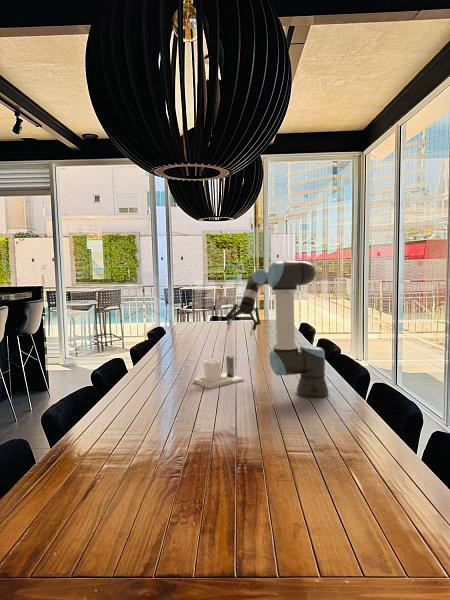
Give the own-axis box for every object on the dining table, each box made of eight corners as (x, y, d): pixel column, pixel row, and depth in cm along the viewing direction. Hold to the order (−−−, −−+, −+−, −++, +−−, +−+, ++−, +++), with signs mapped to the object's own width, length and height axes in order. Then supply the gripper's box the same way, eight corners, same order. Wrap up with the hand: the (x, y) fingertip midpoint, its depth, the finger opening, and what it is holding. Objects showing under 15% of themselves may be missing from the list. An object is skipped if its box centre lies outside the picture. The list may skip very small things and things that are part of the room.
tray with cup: (243, 380, 235) (243, 358, 234) (210, 388, 221) (209, 365, 220) (225, 374, 248) (225, 353, 247) (193, 382, 234) (192, 360, 233)
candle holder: (200, 384, 230) (199, 362, 229) (209, 379, 239) (209, 358, 238) (216, 386, 226) (216, 363, 225) (225, 381, 234) (224, 359, 233)
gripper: (271, 304, 247) (261, 339, 239) (230, 298, 255) (220, 331, 248) (268, 299, 240) (259, 334, 233) (227, 292, 249) (216, 326, 241)
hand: (239, 332), depth 240 cm, fingers open, 13 cm apart
